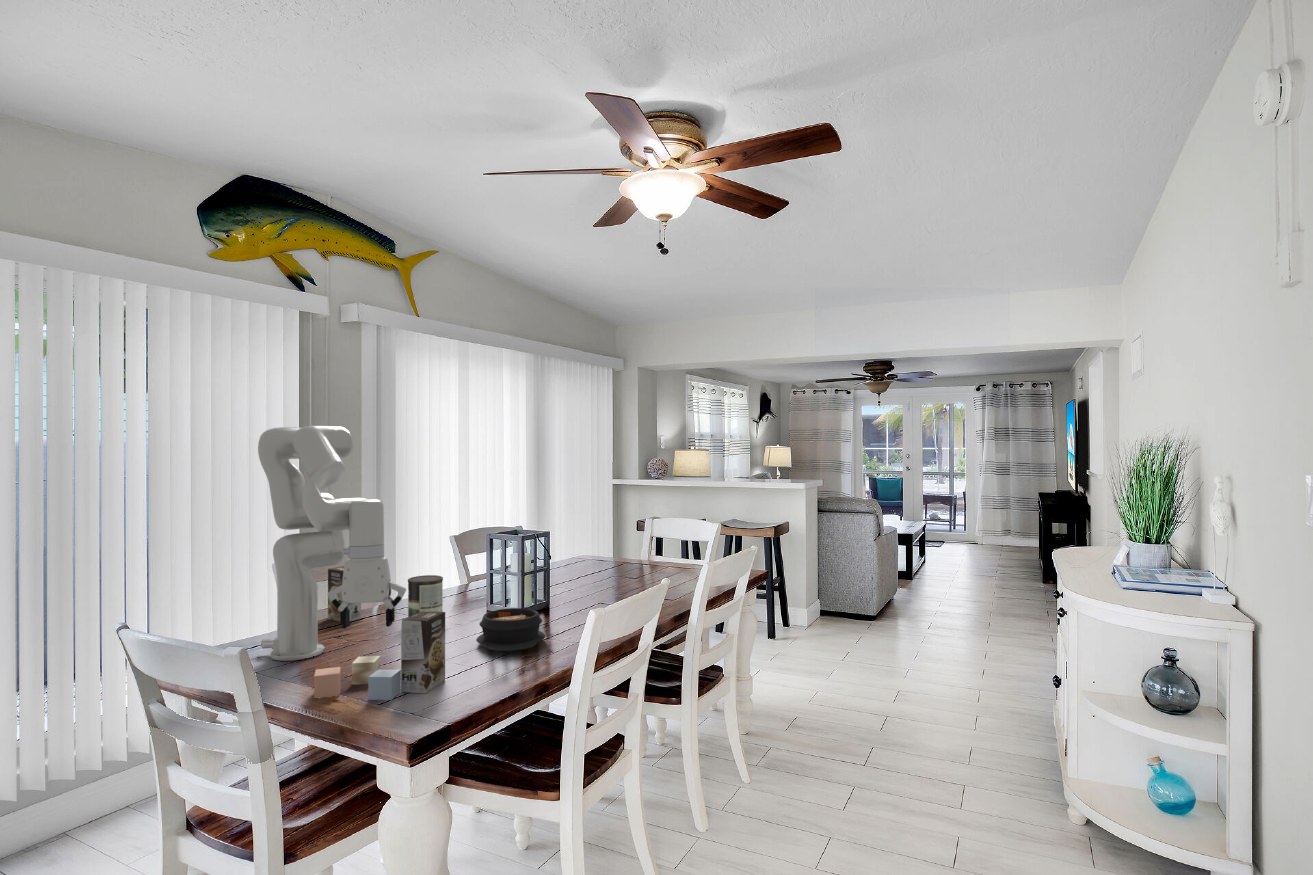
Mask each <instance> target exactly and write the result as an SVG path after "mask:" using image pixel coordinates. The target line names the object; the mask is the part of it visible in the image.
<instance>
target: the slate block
mask: <svg viewBox="0 0 1313 875" xmlns="http://www.w3.org/2000/svg"><path fill="white" fill-rule="evenodd" d="M367 685H368V687H367V688H368V689H367V690H368V700H369V701H392V700H394V699H395V698H396V697H397V696H398V695H399V694H400V693H401V669H380V670H377V671H376V672H375V673H373V674H372V675H370V676H369V677H368V684H367Z"/></svg>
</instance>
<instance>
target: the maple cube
mask: <svg viewBox="0 0 1313 875" xmlns="http://www.w3.org/2000/svg"><path fill="white" fill-rule="evenodd" d="M377 670H381V655H373V656H372V655H370V656H368V655H367V656H365V655H364V656H357V657H356V658H355V660H353V661H352V662H351V685H353V684H354V685H368V677H369V676H370V675H372V674H373V673H375V672H376V671H377Z"/></svg>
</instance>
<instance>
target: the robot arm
mask: <svg viewBox="0 0 1313 875" xmlns="http://www.w3.org/2000/svg"><path fill="white" fill-rule="evenodd" d="M257 445H258V446H257V453H258V458H259V462H260V465H261V467H262V470H263V471H264V473H265V475H266V478H267V481H268V486H269V494H270V501H271V506H272V513H273V518H274V522H275V524H276V526H277V527H278V528H279V529H282V530H285V531H286V530H288V531H290V530H292V531H293V530H295V531H296V530H303V529H304V530H305V529H315V530H317V531H312V532H310V531H309V532H300V533H299V532H298V533H291V534H287V535H283V536H282V537H280V538H279V539H277V540H276V541H275V543H274V545H273V548H272V556H273V561H274V562H273V563H274V566H275V567H274V568H275V573H276V590H277V591H276V593H277V594H276V598H277V599H276V601H277V602H276V604H277V606H276V607H277V609H276V610H277V611H276V612H277V613H276V614H277V615H276V620H277V621H276V625H277V626H276V627H277V628H276V632H277V633H276V638H275V637H274V639H270V638H268V639H262V640H260V641H261V642H260V647H261V648H262V649H272V651H271V652H270V654H269V655H270V659H272V660H275V661H278V662H279V661H280V662H281V661H283V662H288V661H300V660H306V659H310V658H314V657H317V656H319V655H322V654H323V653H324V652H325V645H323V644H321V643H318V633H319V630H318V629H319V625H318V624H319V623H318V620H319V619H318V618H319V617H318V615H319V612H318V609H319V607H318V605H319V604H318V603H319V602H318V601H319V599H318V598H319V597H318V596H319V592H318V590H319V588H318V584H317V581H316V579H315V578H314V577H313V576H312V575H311V573H310V572H309V570H311V569H316V568H322V567H329V566H331V567H332V566H335V565H338V564H339V563H341V562H342V561H343V560H344V558H345V555H347V556H348V558H347V559H345V562H344V565H343V566H344V572H343V582H342V585H341V586H339V587H337V588H335V589H334V590H332V591H330V592H328V591H327V597H328V596H329V598H330V600H331V601H332V604H333V605H334V606H335V607H336V608H337V609H338V611H340V622H339V623H340V625H342V629H343V630H345V629H347V628H348V627H350V625H351V624H350V622H351V621H350V610H349V609H348V606H349V605H350V604H355V603H361V604H375V603H383V604H384V605H385V606H386V607H387V608H386V609H385V627H387V628H389V627H390V626H392V625H393V623H394V622H395V616H396V615H395V612H396V610H395V608H396V606H397V605H398V604H400V602H401V601H402V600H403V598H404V596H405V594H406V592H407V588H406V587H404V586H402V585H401V584H398V583H395V582H393V581H391V580H392V579H391V570H390V564H389V560H388V557H387V556H385V533H384V532H385V531H384V530H385V523H384V522H385V521H384V520H385V517H384V513H385V512H384V503H383V502H382V501H381V500H380V499H371V498H369V499H368V498H366V497H349V498H348V497H344V498H342V497H341V498H335V497H334V495H332V494H330V493H328V492H321V491H322V490H324V489H326V488H328V487H330V486H332V485H334V484H336V483H338V481H340V480H341V479H342V477H343V476H344V475H345V471H346V466H345V464H344V462H343V461H342V459H343V458H344V459H345V458H346V457H347V458H348V456H350V455H351V453H352V451H353V449H354V438H353V436H352V434H351V433H350V431H349V430H348V429H347V428H345V427H343V426H338V425H336V426H335V425H308V426H307V425H305V426H302V427H299V426H298V427H296V426H295V427H292V426H291V427H290V426H287V427H286V426H285V427H284V426H283V427H274V428H269V429H266V430H264V432H262V434H260V437H259V440H258V444H257ZM292 459H293V460H297V459H298V460H299V462H300V463H301V464H302V466H303V469H304V470H305V472H306V474H307V476H308V478H307V480H306V481H305V477H304V474H303V473H302V472H301V471H300V469H299V468H298V467H297V466H296V465H295V464H294V463H292V462H291V461H290V460H292ZM347 530H348V535H349V536H348V539H349V540H348V541H349V542H348V546H347V547H346V542H345V536H344V531H347ZM392 590H393V591H395V592H397V595H396V597H395V598H394V599H393V598H392V597H391V596H392ZM341 591H342V601H343V602H342V601H341V600H339V599H338V598H337V593H339V592H341ZM322 652H323V653H322ZM313 656H314V657H313ZM305 658H306V659H305Z"/></svg>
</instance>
